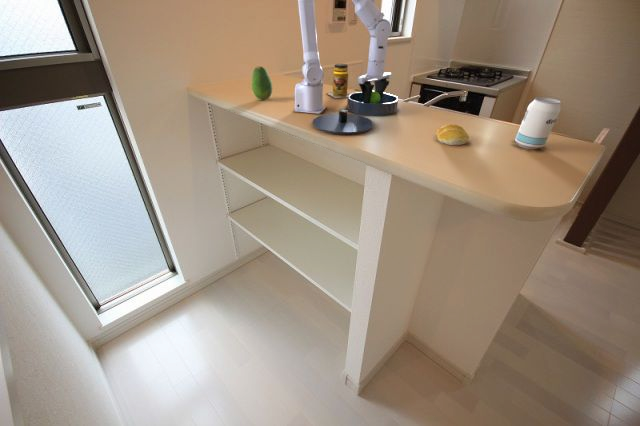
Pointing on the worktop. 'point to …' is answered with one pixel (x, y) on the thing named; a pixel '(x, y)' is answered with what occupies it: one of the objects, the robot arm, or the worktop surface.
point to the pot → (372, 105)
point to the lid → (342, 123)
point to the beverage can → (538, 123)
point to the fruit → (261, 83)
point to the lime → (375, 97)
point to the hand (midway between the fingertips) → (372, 102)
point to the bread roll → (452, 135)
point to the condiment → (340, 81)
